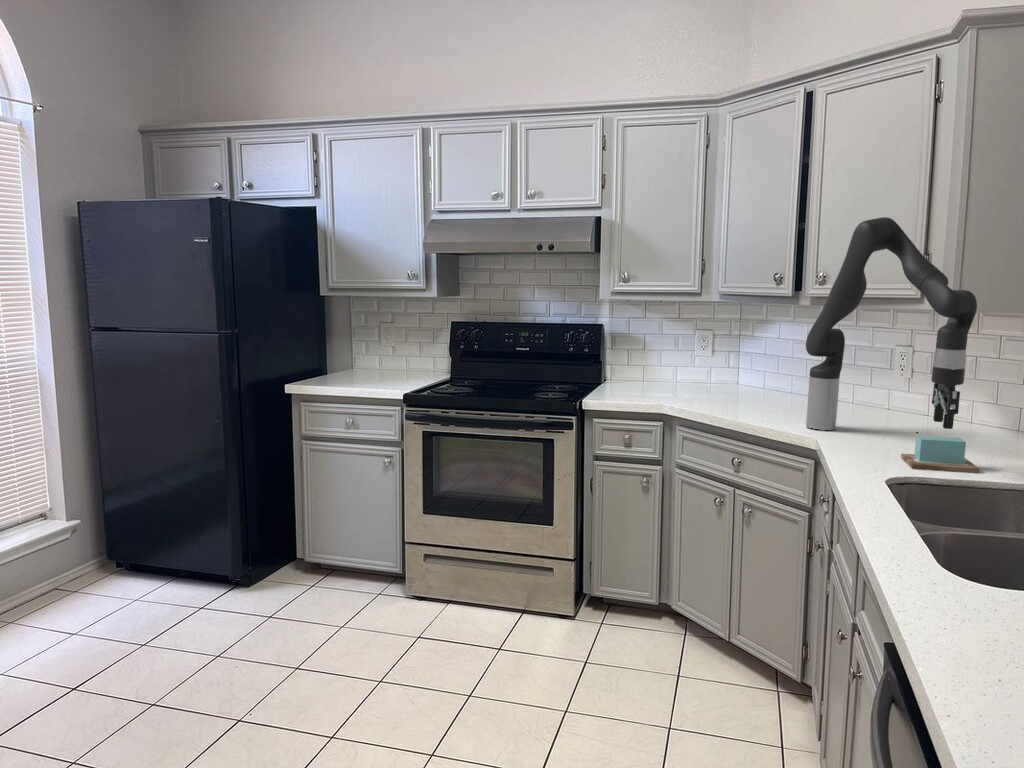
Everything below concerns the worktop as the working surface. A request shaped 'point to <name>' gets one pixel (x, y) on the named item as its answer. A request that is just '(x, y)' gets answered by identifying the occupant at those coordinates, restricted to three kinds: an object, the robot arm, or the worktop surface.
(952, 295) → the robot arm
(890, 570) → the worktop surface
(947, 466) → the stub base
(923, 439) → the block
